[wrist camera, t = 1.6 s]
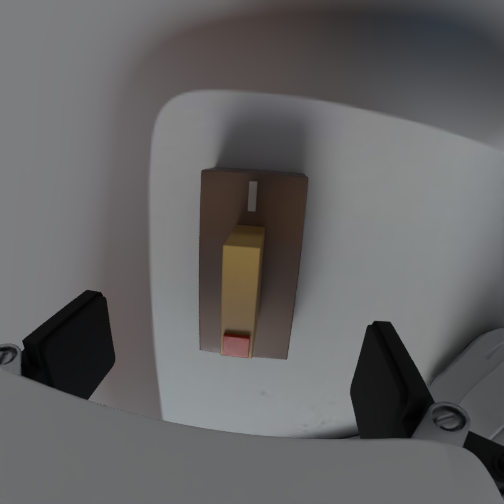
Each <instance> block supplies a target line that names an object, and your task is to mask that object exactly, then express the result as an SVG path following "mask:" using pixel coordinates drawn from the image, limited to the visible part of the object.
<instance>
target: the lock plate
mask: <svg viewBox="0 0 504 504" xmlns="http://www.w3.org/2000/svg"><path fill="white" fill-rule="evenodd" d="M307 188H308V177H307V176H306V175H305V174H303V173H294V172H282V171H270V170H256V169H240V168H221V167H214V168H209V169H204V170H202V171H201V197H200V236H199V334H200V350H202V351H209V352H217V353H220V338H221V294H222V261H223V245H224V243H225V242H226V240H227V239H228V237H229V235H230V234H231V232H232V231H233V229H234V228H235V226H236V225H247V226H259V227H265V240H264V253H263V266H262V279H261V292H260V304H259V316H258V324H257V331H256V337H255V343H254V349H253V356H252V357H261V358H272V359H284V360H286V359H287V356H288V349H289V342H290V335H291V328H292V321H293V313H294V306H295V298H296V290H297V282H298V274H299V265H300V257H301V248H302V239H303V229H304V219H305V209H306V199H307Z"/></svg>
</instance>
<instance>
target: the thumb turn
mask: <svg viewBox="0 0 504 504" xmlns="http://www.w3.org/2000/svg"><path fill="white" fill-rule="evenodd" d="M264 240H265V227H259V226H247V225H236V226H235V228H234V229H233V231H232V232H231V234H230V235H229V237H228V239H227V240H226V242H225V243H224V245H223V261H222V294H221V338H220V354H221V355H226V356H234V357H243V358H252V356H253V349H254V343H255V337H256V331H257V324H258V316H259V304H260V292H261V279H262V266H263V253H264Z"/></svg>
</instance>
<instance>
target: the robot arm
mask: <svg viewBox="0 0 504 504" xmlns="http://www.w3.org/2000/svg"><path fill="white" fill-rule="evenodd" d="M22 342H23V345H24V348H25V349H24V350H23V351H22V352H21V349H20V348H19V347H18V346H17V345H14V344H1V345H0V504H504V446H503V445H500V444H498V443H496V442H494V441H491V440H489V439H487V438H485V437H482V436H480V435H478V434H476V433H474V432H472V431H469V428H470V424H471V420H470V416H469V415H468V413H467V412H466V411H465V410H464V409H463V408H462V407H460V406H459V405H457V404H454V403H451V402H437V403H435V401H434V399H433V397H432V395H431V393H430V392H429V390H428V388H427V386H426V384H425V382H424V380H423V378H422V376H421V375H420V373H419V371H418V369H417V367H416V365H415V364H414V362H413V360H412V359H411V357H410V355H409V353H408V351H407V350H406V348H405V346H404V344H403V343H402V341H401V339H400V337H399V336H398V334H397V332H396V330H395V329H394V327H393V325H392V324H391V322H387V321H374V322H373V324H372V325H368V326H367V329H366V333H365V337H364V341H363V345H362V348H361V352H360V356H359V359H358V363H357V367H356V370H355V374H354V377H353V380H352V384H351V388H350V395H351V400H352V404H353V408H354V413H355V417H356V422H357V426H358V431H359V436H360V439H304V438H285V437H272V436H261V435H251V434H242V433H233V432H226V431H219V430H212V429H206V428H199V427H194V426H188V425H183V424H178V423H173V422H168V421H163V420H159V419H154V418H150V417H146V416H142V415H138V414H134V413H130V412H126V411H123V410H119V409H115V408H112V407H108V406H105V405H101V404H98V403H95V402H92V401H89V400H88V399H89V398H90V396H91V395H92V393H93V392H94V391H95V389H96V388H97V387H98V385H99V384H100V383H101V381H102V380H103V379H104V377H105V376H106V375H107V373H108V372H109V371H110V369H111V368H112V367H113V365H114V363H115V352H114V347H113V341H112V335H111V328H110V323H109V315H108V307H107V301H106V298H105V297H103V295H102V293H101V292H97V291H90V290H86V291H85V292H83V293H82V294H81V295H79V296H78V297H77V298H75V299H74V300H73V301H71V302H70V303H69V304H68V305H66V306H65V307H64V308H62V309H61V310H60V311H58V312H57V313H56V314H55V315H53V316H52V317H51V318H50V319H48V320H47V321H46V322H44V323H43V324H42V325H41V326H39V327H38V328H37V329H36V330H35V331H33V332H32V333H31V334H30V335H28V336H27V337H26V338H25V339H24V340H22Z"/></svg>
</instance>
